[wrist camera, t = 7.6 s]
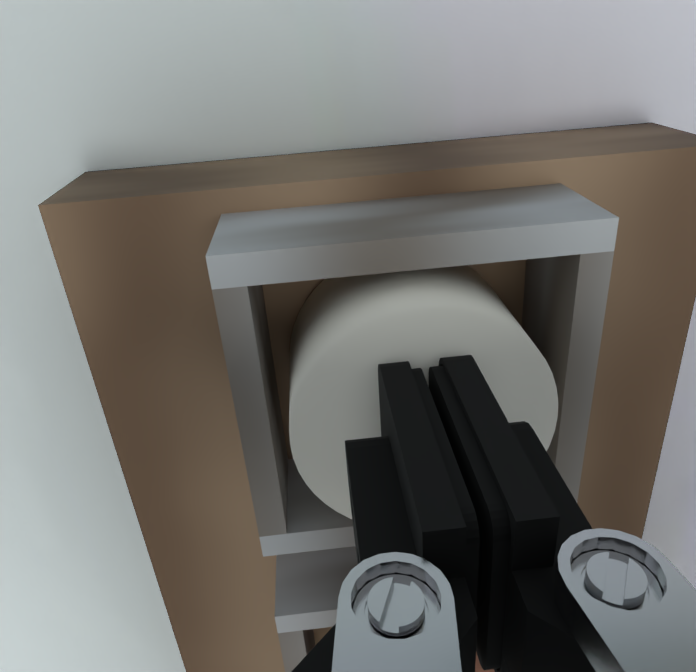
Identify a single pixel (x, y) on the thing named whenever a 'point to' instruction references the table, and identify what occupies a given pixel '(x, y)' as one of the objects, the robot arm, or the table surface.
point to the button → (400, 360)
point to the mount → (353, 260)
